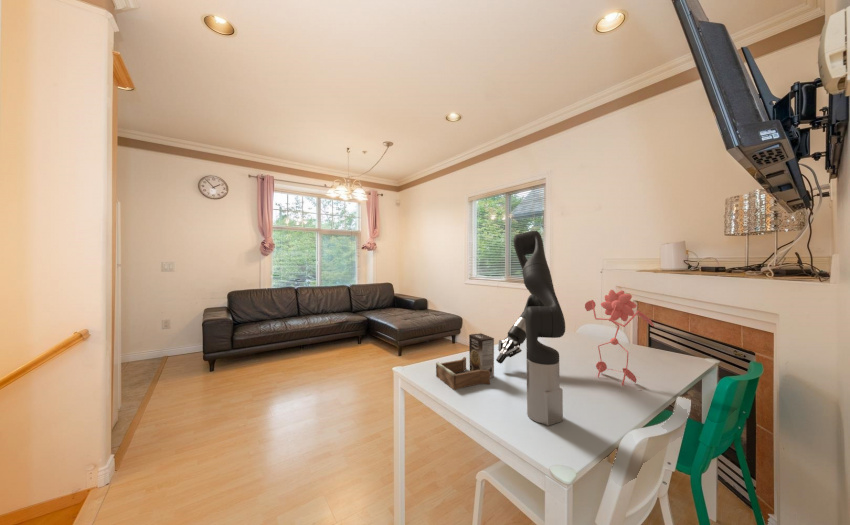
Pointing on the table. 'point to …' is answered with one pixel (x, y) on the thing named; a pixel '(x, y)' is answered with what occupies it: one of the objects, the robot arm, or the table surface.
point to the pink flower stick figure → (617, 308)
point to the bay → (463, 379)
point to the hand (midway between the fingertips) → (498, 362)
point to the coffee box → (481, 353)
